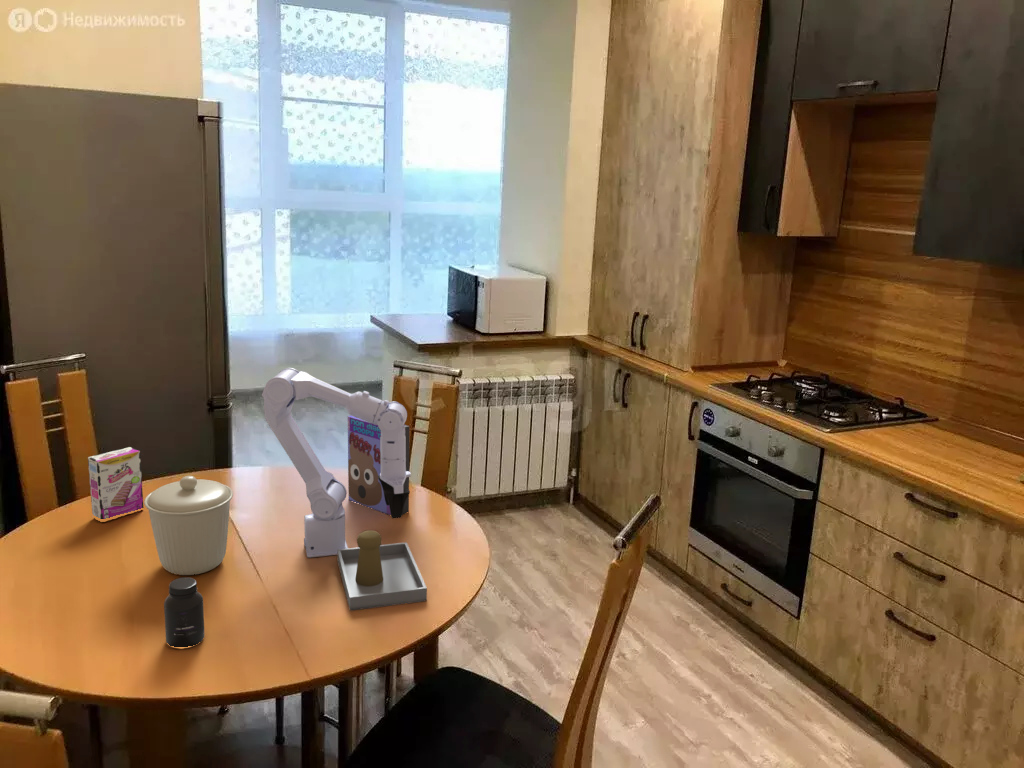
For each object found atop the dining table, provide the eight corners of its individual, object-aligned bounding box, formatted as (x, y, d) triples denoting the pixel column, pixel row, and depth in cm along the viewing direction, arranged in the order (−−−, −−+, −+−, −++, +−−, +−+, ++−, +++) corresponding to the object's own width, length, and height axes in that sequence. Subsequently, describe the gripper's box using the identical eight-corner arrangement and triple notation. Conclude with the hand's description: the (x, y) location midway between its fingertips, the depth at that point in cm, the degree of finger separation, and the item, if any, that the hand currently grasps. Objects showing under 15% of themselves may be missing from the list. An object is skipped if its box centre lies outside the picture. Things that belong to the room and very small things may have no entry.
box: (349, 610, 166) (349, 597, 165) (337, 561, 186) (337, 549, 185) (426, 600, 171) (426, 588, 170) (406, 553, 191) (406, 542, 190)
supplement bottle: (181, 654, 149) (177, 596, 146) (158, 642, 152) (153, 585, 149) (213, 637, 154) (209, 581, 151) (189, 626, 158) (186, 570, 155)
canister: (135, 563, 181) (128, 475, 176) (212, 539, 194) (207, 456, 189) (172, 593, 169) (165, 499, 164) (251, 565, 182) (247, 478, 177)
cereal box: (348, 500, 220) (347, 415, 213) (361, 495, 223) (360, 411, 217) (396, 517, 210) (396, 429, 204) (408, 512, 214) (409, 425, 208)
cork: (360, 588, 173) (359, 541, 171) (351, 575, 178) (351, 529, 176) (387, 583, 176) (387, 536, 173) (378, 570, 181) (378, 525, 178)
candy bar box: (102, 524, 199) (96, 461, 195) (92, 519, 202) (86, 456, 198) (145, 510, 208) (140, 450, 204) (134, 505, 211) (129, 445, 207)
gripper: (416, 465, 180) (416, 521, 184) (404, 444, 193) (404, 497, 197) (385, 468, 178) (385, 525, 181) (374, 446, 191) (375, 500, 195)
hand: (393, 511), depth 189 cm, fingers open, 7 cm apart
